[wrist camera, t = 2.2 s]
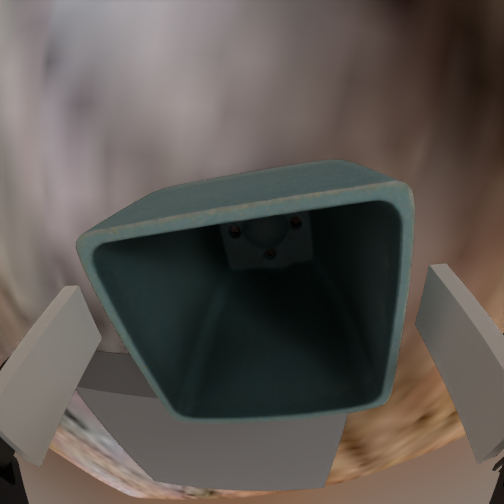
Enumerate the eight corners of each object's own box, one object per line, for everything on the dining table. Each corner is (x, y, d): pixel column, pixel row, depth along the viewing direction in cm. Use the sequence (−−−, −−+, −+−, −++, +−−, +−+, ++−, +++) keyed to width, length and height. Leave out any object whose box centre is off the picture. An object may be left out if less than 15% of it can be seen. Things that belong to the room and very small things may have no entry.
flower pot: (206, 301, 19) (173, 426, 11) (164, 162, 15) (66, 239, 7) (348, 281, 18) (389, 407, 10) (336, 131, 14) (417, 179, 6)
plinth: (343, 351, 21) (352, 395, 17) (321, 459, 30) (323, 487, 27) (91, 350, 22) (72, 385, 19) (160, 455, 32) (154, 480, 28)
